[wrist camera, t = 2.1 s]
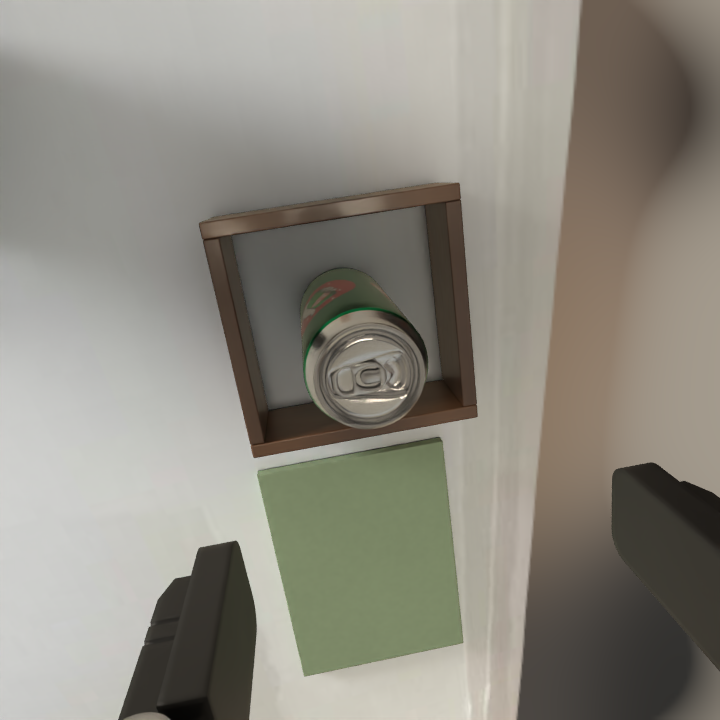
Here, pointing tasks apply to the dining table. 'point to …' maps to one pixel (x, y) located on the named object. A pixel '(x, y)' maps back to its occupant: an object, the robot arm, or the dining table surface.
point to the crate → (451, 306)
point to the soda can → (359, 351)
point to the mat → (365, 554)
